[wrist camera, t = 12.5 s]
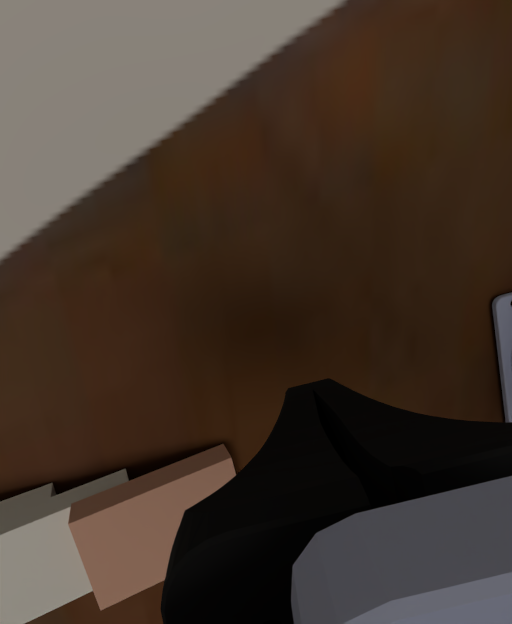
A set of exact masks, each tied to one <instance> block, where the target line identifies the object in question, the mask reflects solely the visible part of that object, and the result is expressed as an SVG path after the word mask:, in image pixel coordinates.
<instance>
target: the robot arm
mask: <svg viewBox="0 0 512 624" xmlns="http://www.w3.org/2000/svg"><path fill="white" fill-rule="evenodd" d="M511 301H512V292H511V293H507V294H503V295H500V296H498V297H496V298H495V299H494V301H493V303H492V309H493V318H494V326H495V335H496V343H497V352H498V361H499V369H500V378H501V387H502V395H503V404H504V412H505V421H506V422H505V423H498V422H478V421H464V420H454V419H447V418H441V417H434V416H428V415H423V414H418V413H414V412H410V411H407V410H403V409H399V408H396V407H392V406H389V405H387V404H384V403H381V402H378V401H376V400H373V399H371V398H368V397H366V396H364V395H362V394H359V393H357V392H355V391H353V390H351V389H349V388H347V387H345V386H343V385H341V384H339V383H337V382H335V381H333V380H331V379H329V378H328V379H324V380H320V381H316V382H312V383H308V384H304V385H300V386H296V387H292V388H288V390H287V391H286V395H285V400H284V404H283V407H282V410H281V412H280V415H279V417H278V420H277V422H276V424H275V426H274V428H273V430H272V432H271V434H270V436H269V437H268V439H267V441H266V442H265V444H264V445H263V447H262V448H261V450H260V451H259V452H258V453H257V454H256V455H255V457H254V458H253V459H252V460H251V461H250V462H249V463H248V464H247V465H246V466H245V467H244V468H243V469H242V470H241V471H240V472H239V473H238V474H237V475H236V476H235V477H233V478H232V479H231V480H230V481H229V482H227V483H226V484H225V485H223V486H222V487H221V488H220V489H218V490H217V491H215V492H214V493H212V494H211V495H209V496H208V497H206V498H204V499H203V500H201V501H200V502H198V503H197V504H195V505H193V506H192V507H190V508H188V509H186V510H185V512H184V514H183V517H182V520H181V523H180V526H179V528H178V531H177V534H176V537H175V540H174V543H173V546H172V550H171V553H170V558H169V562H168V567H167V572H166V577H165V582H164V586H163V593H162V601H161V614H162V619H163V624H512V306H511V305H510V303H511Z"/></svg>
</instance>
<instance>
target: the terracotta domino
mask: <svg viewBox="0 0 512 624" xmlns="http://www.w3.org/2000/svg"><path fill="white" fill-rule="evenodd" d="M235 476H236V473H235V469H234V465H233V461H232V458H231V456H230V454H229V452H228V451H227V449H226V447H225V446H224V444H221V445H219V446H216V447H214V448H211V449H208V450H206V451H203V452H201V453H198V454H196V455H193V456H191V457H188V458H186V459H183V460H181V461H178V462H176V463H173V464H171V465H168V466H165V467H163V468H160V469H158V470H155V471H153V472H150V473H148V474H145V475H143V476H140V477H138V478H135V479H133V480H130V481H128V482H125V483H122V484H120V485H117V486H115V487H112V488H110V489H107V490H105V491H102V492H100V493H97V494H95V495H92V496H90V497H87V498H85V499H82V500H79V501H77V502H74V503H72V504H71V508H70V515H69V521H68V525H69V528H70V531H71V533H72V536H73V539H74V541H75V544H76V547H77V549H78V552H79V555H80V557H81V560H82V562H83V565H84V568H85V570H86V573H87V576H88V578H89V581H90V584H91V586H92V589H93V592H94V594H95V597H96V600H97V602H98V605H99V607H100V610H103V609H105V608H107V607H109V606H111V605H113V604H115V603H117V602H120V601H122V600H124V599H126V598H128V597H130V596H132V595H134V594H136V593H138V592H140V591H142V590H144V589H147V588H149V587H151V586H153V585H155V584H157V583H159V582H161V581H163V580H165V577H166V572H167V567H168V562H169V558H170V553H171V550H172V546H173V543H174V540H175V537H176V534H177V531H178V528H179V526H180V523H181V520H182V517H183V514H184V512H185V510H186V509H188V508H190V507H192V506H193V505H195V504H197V503H198V502H200V501H201V500H203V499H204V498H206V497H208V496H209V495H211V494H212V493H214V492H215V491H217V490H218V489H220V488H221V487H222V486H223V485H225V484H226V483H227V482H229V481H230V480H231V479H232V478H233V477H235Z"/></svg>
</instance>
